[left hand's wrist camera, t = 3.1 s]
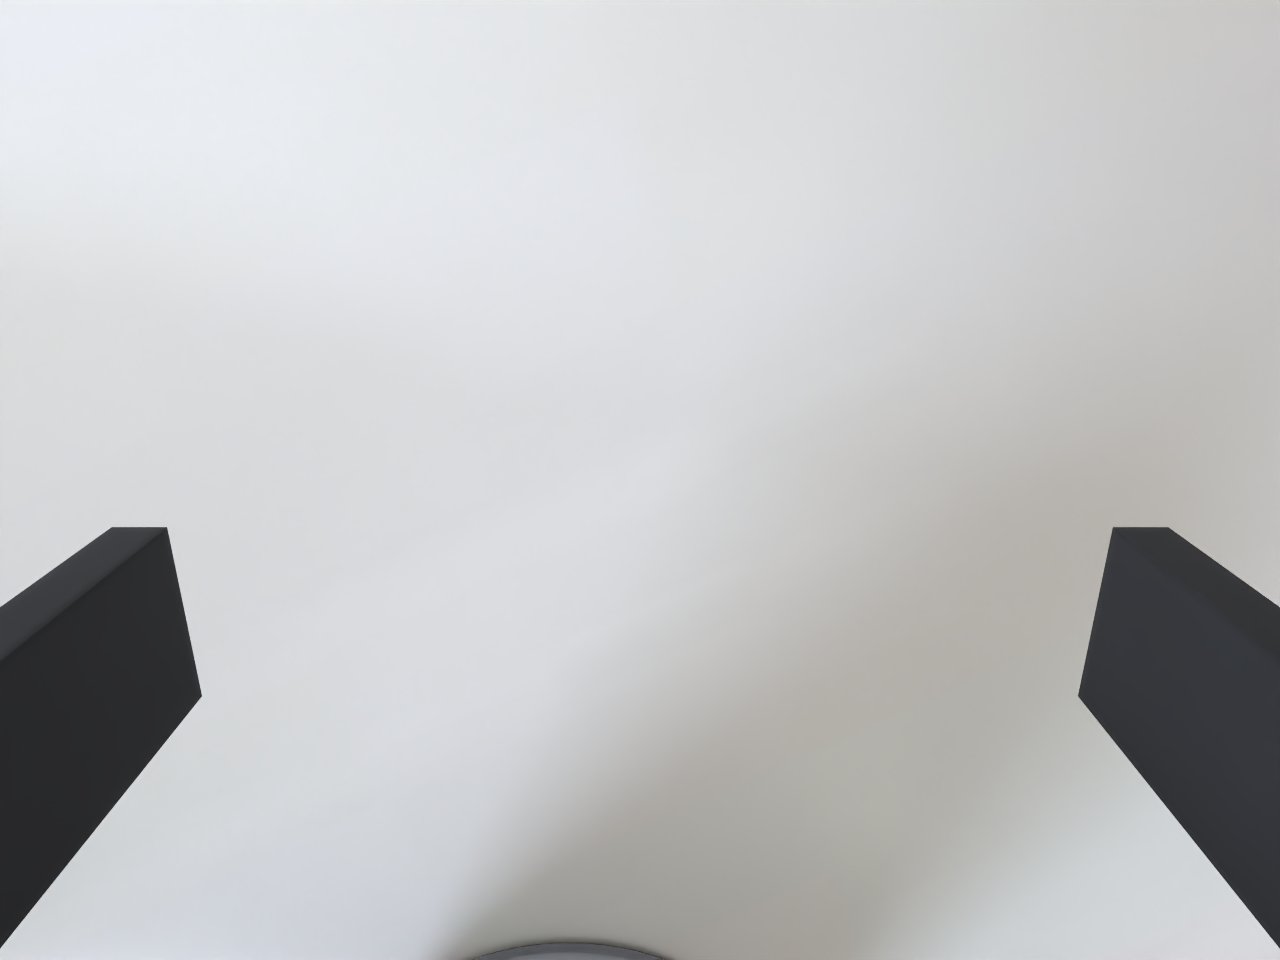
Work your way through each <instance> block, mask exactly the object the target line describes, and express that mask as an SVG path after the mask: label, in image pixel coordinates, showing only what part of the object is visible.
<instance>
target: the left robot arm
mask: <svg viewBox="0 0 1280 960" xmlns="http://www.w3.org/2000/svg"><path fill="white" fill-rule="evenodd" d="M201 697H202V694H201V689H200V685H199V680H198V675H197V670H196V665H195V660H194V656H193V651H192V646H191V641H190V636H189V631H188V627H187V622H186V617H185V612H184V607H183V602H182V598H181V593H180V588H179V583H178V578H177V573H176V569H175V564H174V559H173V554H172V549H171V544H170V540H169V535H168V530H167V527H112V528H110V529H109V530H107V531H106V532H105V533H103V534H102V535H100V536H99V537H98V538H96V539H95V540H93V541H92V542H91V543H89V544H88V545H87V546H85V547H84V548H82V549H81V550H80V551H78V552H77V553H75V554H74V555H73V556H71V557H70V558H68V559H67V560H66V561H64V562H63V563H61V564H60V565H59V566H57V567H56V568H54V569H53V570H52V571H50V572H49V573H47V574H46V575H45V576H43V577H42V578H41V579H39V580H38V581H36V582H35V583H34V584H32V585H31V586H29V587H28V588H27V589H25V590H24V591H22V592H21V593H20V594H18V595H17V596H15V597H14V598H13V599H11V600H10V601H8V602H7V603H6V604H4V605H3V606H2V607H0V948H1V947H2V945H3V944H4V943H5V942H6V940H7V939H8V938H9V937H10V935H11V934H12V933H13V932H14V930H15V929H16V928H17V927H18V925H19V924H20V923H21V922H22V920H23V919H24V918H25V917H26V915H27V914H28V913H29V912H30V910H31V909H32V908H33V907H34V905H35V904H36V903H37V902H38V900H39V899H40V898H41V897H42V895H43V894H44V893H45V892H46V890H47V889H48V888H49V887H50V885H51V884H52V883H53V882H54V880H55V879H56V878H57V877H58V875H59V874H60V873H61V872H62V870H63V869H64V868H65V867H66V865H67V864H68V863H69V862H70V860H71V859H72V858H73V857H74V855H75V854H76V853H77V852H78V850H79V849H80V848H81V847H82V845H83V844H84V843H85V842H86V840H87V839H88V838H89V837H90V835H91V834H92V833H93V832H94V830H95V829H96V828H97V827H98V825H99V824H100V823H101V822H102V820H103V819H104V818H105V817H106V815H107V814H108V813H109V812H110V810H111V809H112V808H113V807H114V805H115V804H116V803H117V802H118V800H119V799H120V798H121V797H122V795H123V794H124V793H125V792H126V790H127V789H128V788H129V787H130V785H131V784H132V783H133V782H134V780H135V779H136V778H137V777H138V775H139V774H140V773H141V772H142V770H143V769H144V768H145V767H146V765H147V764H148V763H149V762H150V760H151V759H152V758H153V757H154V755H155V754H156V753H157V752H158V750H159V749H160V748H161V747H162V745H163V744H164V743H165V742H166V740H167V739H168V738H169V737H170V735H171V734H172V733H173V732H174V730H175V729H176V728H177V727H178V725H179V724H180V723H181V722H182V720H183V719H184V718H185V717H186V715H187V714H188V713H189V712H190V710H191V709H192V708H193V707H194V705H195V704H196V703H197V702H198V700H199V699H200V698H201ZM1078 697H1079V698H1080V699H1081V700H1082V702H1083V703H1084V704H1085V705H1086V707H1087V708H1088V709H1089V710H1090V712H1091V713H1092V714H1093V715H1094V717H1095V718H1096V719H1097V720H1098V722H1099V723H1100V724H1101V725H1102V727H1103V728H1104V729H1105V730H1106V732H1107V733H1108V734H1109V735H1110V737H1111V738H1112V739H1113V740H1114V742H1115V743H1116V744H1117V745H1118V747H1119V748H1120V749H1121V750H1122V752H1123V753H1124V754H1125V755H1126V757H1127V758H1128V759H1129V760H1130V762H1131V763H1132V764H1133V765H1134V767H1135V768H1136V769H1137V770H1138V772H1139V773H1140V774H1141V775H1142V777H1143V778H1144V779H1145V780H1146V782H1147V783H1148V784H1149V785H1150V787H1151V788H1152V789H1153V790H1154V792H1155V793H1156V794H1157V795H1158V797H1159V798H1160V799H1161V800H1162V802H1163V803H1164V804H1165V805H1166V807H1167V808H1168V809H1169V810H1170V812H1171V813H1172V814H1173V815H1174V817H1175V818H1176V819H1177V820H1178V822H1179V823H1180V824H1181V825H1182V827H1183V828H1184V829H1185V830H1186V832H1187V833H1188V834H1189V835H1190V837H1191V838H1192V839H1193V840H1194V842H1195V843H1196V844H1197V845H1198V847H1199V848H1200V849H1201V850H1202V852H1203V853H1204V854H1205V855H1206V857H1207V858H1208V859H1209V860H1210V862H1211V863H1212V864H1213V865H1214V867H1215V868H1216V869H1217V870H1218V872H1219V873H1220V874H1221V875H1222V877H1223V878H1224V879H1225V880H1226V882H1227V883H1228V884H1229V885H1230V887H1231V888H1232V889H1233V890H1234V892H1235V893H1236V894H1237V895H1238V897H1239V898H1240V899H1241V900H1242V902H1243V903H1244V904H1245V905H1246V907H1247V908H1248V909H1249V910H1250V912H1251V913H1252V914H1253V915H1254V917H1255V918H1256V919H1257V920H1258V922H1259V923H1260V924H1261V925H1262V927H1263V928H1264V929H1265V930H1266V932H1267V933H1268V934H1269V935H1270V937H1271V938H1272V939H1273V940H1274V942H1275V943H1276V944H1277V945H1278V947H1279V948H1280V607H1278V606H1277V605H1276V604H1274V603H1273V602H1272V601H1270V600H1269V599H1267V598H1266V597H1265V596H1263V595H1262V594H1260V593H1259V592H1258V591H1256V590H1255V589H1253V588H1252V587H1251V586H1249V585H1248V584H1246V583H1245V582H1244V581H1242V580H1241V579H1239V578H1238V577H1237V576H1235V575H1234V574H1233V573H1231V572H1230V571H1228V570H1227V569H1226V568H1224V567H1223V566H1221V565H1220V564H1219V563H1217V562H1216V561H1214V560H1213V559H1212V558H1210V557H1209V556H1207V555H1206V554H1205V553H1203V552H1202V551H1200V550H1199V549H1198V548H1196V547H1195V546H1193V545H1192V544H1191V543H1189V542H1188V541H1187V540H1185V539H1184V538H1182V537H1181V536H1180V535H1178V534H1177V533H1175V532H1174V531H1173V530H1171V529H1170V528H1168V527H1113V530H1112V535H1111V540H1110V545H1109V549H1108V554H1107V559H1106V564H1105V569H1104V573H1103V578H1102V583H1101V588H1100V593H1099V598H1098V602H1097V607H1096V612H1095V617H1094V622H1093V627H1092V631H1091V636H1090V641H1089V646H1088V651H1087V656H1086V660H1085V665H1084V670H1083V675H1082V680H1081V685H1080V689H1079V694H1078ZM473 960H663V959H660V958H658V957H655V956H651V955H648V954H645V953H642V952H638V951H633V950H629V949H624V948H619V947H613V946H606V945H597V944H585V943H553V944H539V945H531V946H523V947H518V948H513V949H508V950H503V951H499V952H495V953H492V954H488V955H484V956H482V957H479V958H476V959H473Z"/></svg>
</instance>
